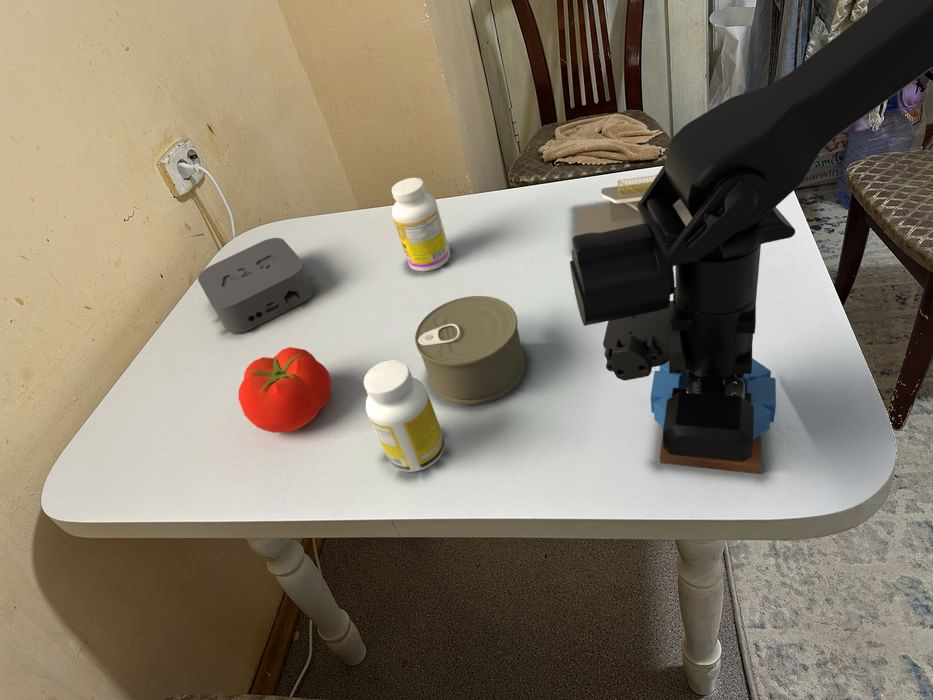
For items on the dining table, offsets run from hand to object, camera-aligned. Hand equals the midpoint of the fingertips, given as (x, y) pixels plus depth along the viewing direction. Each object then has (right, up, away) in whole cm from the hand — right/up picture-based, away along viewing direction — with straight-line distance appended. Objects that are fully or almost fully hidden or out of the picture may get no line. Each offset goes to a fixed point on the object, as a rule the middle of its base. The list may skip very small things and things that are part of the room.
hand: (710, 428), depth 59 cm
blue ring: (+1, +2, +4) cm, 4 cm away
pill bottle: (-27, -4, +13) cm, 31 cm away
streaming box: (-54, +15, +44) cm, 71 cm away
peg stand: (+2, -1, +6) cm, 7 cm away
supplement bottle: (-28, +21, +42) cm, 54 cm away
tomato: (-43, -1, +22) cm, 48 cm away
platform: (+3, +26, +38) cm, 46 cm away
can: (-21, +4, +21) cm, 30 cm away
